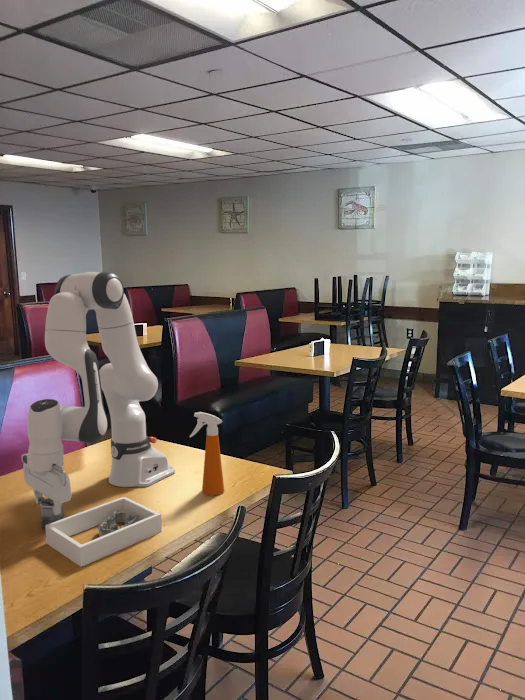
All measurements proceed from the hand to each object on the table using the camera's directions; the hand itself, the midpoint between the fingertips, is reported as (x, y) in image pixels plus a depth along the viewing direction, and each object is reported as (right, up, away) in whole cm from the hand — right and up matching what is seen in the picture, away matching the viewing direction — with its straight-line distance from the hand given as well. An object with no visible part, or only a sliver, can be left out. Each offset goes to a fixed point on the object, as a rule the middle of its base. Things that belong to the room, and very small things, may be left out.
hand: (48, 508), depth 154 cm
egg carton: (+20, -6, -2) cm, 21 cm away
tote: (+17, -6, -5) cm, 19 cm away
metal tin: (+1, -5, +1) cm, 5 cm away
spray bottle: (+41, -2, +24) cm, 48 cm away
